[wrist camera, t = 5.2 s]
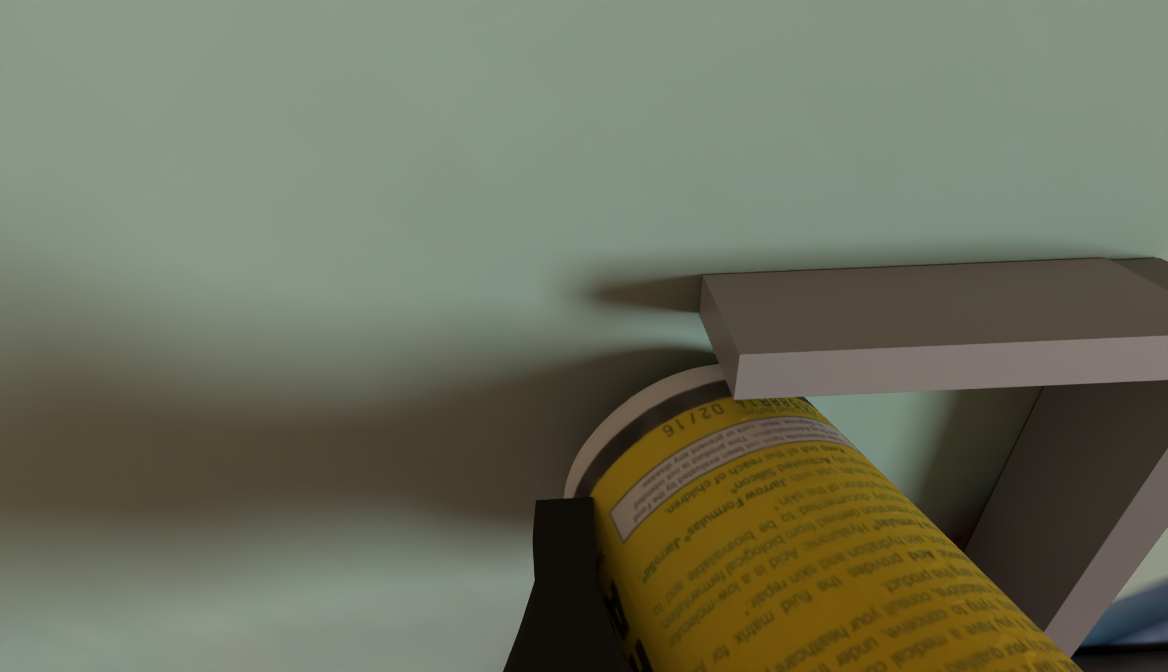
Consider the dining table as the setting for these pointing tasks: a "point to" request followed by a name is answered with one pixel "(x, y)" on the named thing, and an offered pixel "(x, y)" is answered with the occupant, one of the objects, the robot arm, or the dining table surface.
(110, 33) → the dining table surface
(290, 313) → the dining table surface
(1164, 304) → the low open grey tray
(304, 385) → the dining table surface
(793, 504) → the supplement bottle
